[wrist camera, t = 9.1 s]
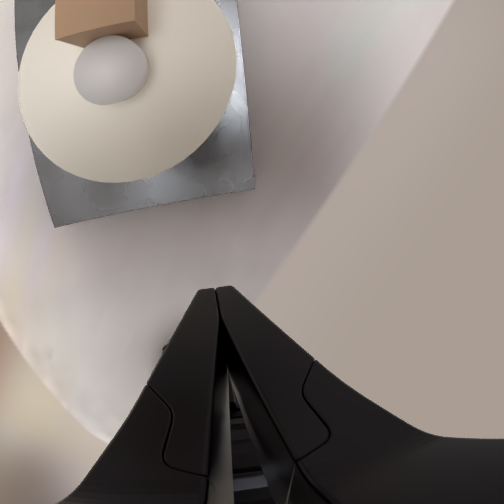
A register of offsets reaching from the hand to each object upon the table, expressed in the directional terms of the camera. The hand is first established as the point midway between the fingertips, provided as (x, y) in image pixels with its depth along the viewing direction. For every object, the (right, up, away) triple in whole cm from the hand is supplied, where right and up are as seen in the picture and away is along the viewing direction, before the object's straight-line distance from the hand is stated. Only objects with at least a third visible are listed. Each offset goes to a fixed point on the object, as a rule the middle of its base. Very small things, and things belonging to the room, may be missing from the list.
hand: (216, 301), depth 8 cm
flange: (-5, +11, +5) cm, 13 cm away
